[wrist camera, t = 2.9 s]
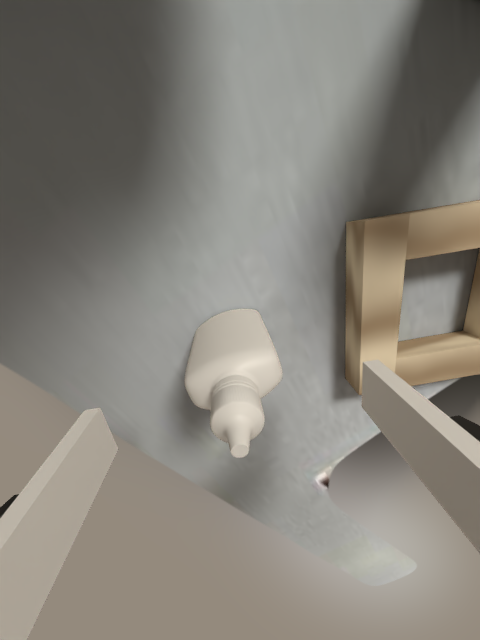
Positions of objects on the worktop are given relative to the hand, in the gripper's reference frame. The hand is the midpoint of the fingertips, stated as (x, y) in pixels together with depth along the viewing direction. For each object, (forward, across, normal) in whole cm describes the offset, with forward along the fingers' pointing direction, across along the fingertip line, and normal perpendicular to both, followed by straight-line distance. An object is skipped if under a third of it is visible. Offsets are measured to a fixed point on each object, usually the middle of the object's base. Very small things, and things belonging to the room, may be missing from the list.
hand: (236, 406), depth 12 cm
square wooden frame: (+9, +17, +1) cm, 19 cm away
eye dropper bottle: (+9, 0, +1) cm, 9 cm away
